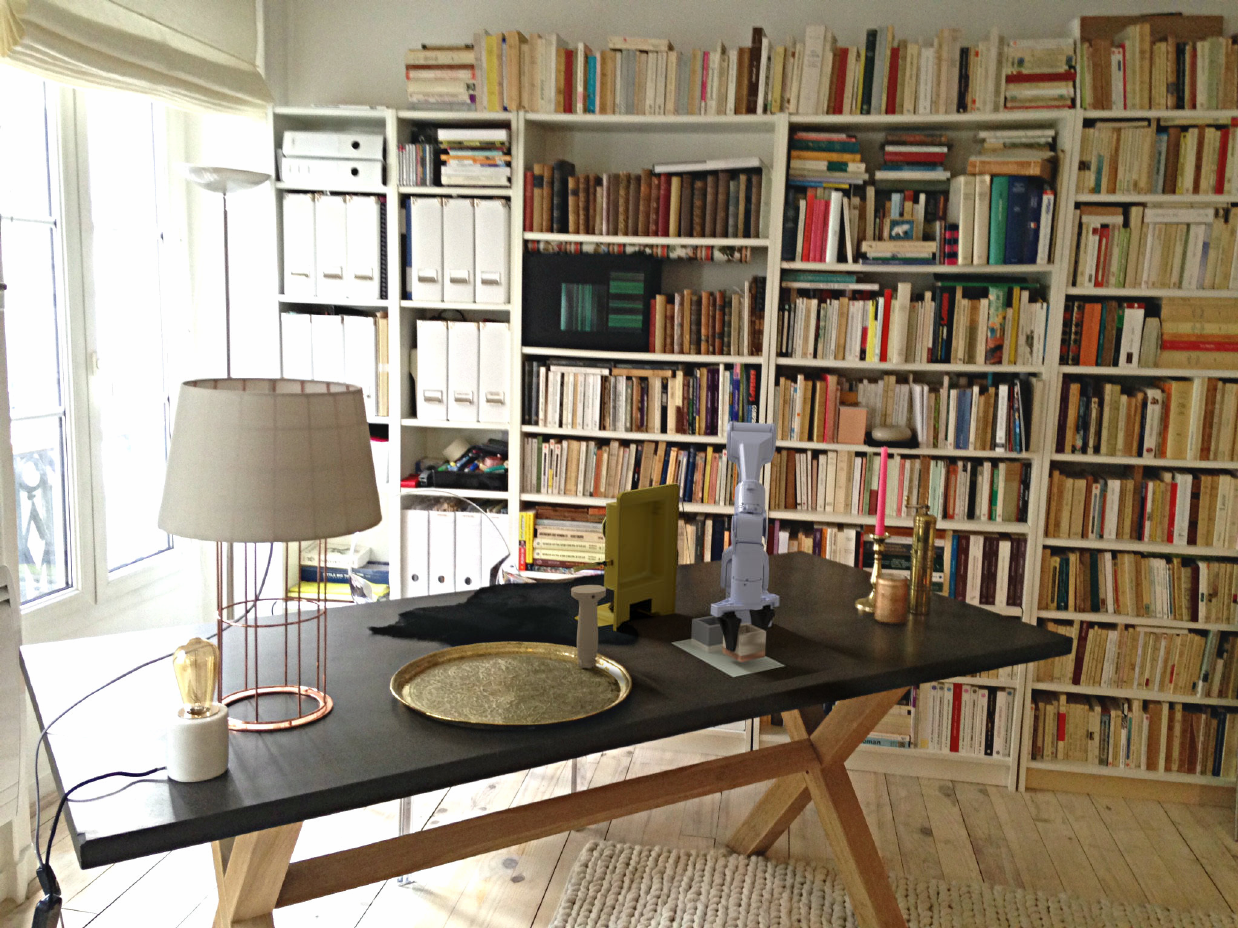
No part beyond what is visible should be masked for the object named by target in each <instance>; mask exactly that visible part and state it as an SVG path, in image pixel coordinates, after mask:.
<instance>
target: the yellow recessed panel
mask: <svg viewBox="0 0 1238 928" xmlns="http://www.w3.org/2000/svg"><path fill="white" fill-rule="evenodd" d="M680 489H681V486H680V485H679V483H676V482H672V483H667V484H661V485H660V484H659V485H656V486H649V487H643V488H637V489H631V490H626V491H621V492H620V491H619V492H618V494H617V495H616V501H612V502H606V503H605V517H604V519H603V521H602V523H601V533H602V536H603V538H604V539H605V540H604V560H597V561H595V562H591V563H589V564H585V565H577V566H572V571H573V574H576V573H578V572H581V571H584V570H588V569H594V568H598V567H599V568H600V567H601V566H603V567H604V570H603V571H604V575H603V576H604V577H603V578H604V579H603V581H604V582H603V587H605V588H606V589H607V590H608V589H609V590H611V591H613V594H614V595H613V600H612V601H611V602H608V603H605V604H601V605H597V619H598V627H603V626H609V625H612V629H613V631H614V632H617V628H618V627H620V626H621V624H622V623H623V622H627V621H629V620H630V611H636V610H638V611H637V612H640V613H642V614H646V615H649V616H651V617H655V618H656V617H657V618H658V617H663V616H667V615H668V616H669V615H674V614H676V598H677V597H676V596H677V574H678V573H677V572H678V567H679V556H680V555H679V553H680V552H679V548H678V545H679V522H680V521H679V519H680V518H679V516H680V501H681V506H682V513H683V515H682V516H683V523H684V527H685V534H686V535H685V537H686V542H687V549H688V552H690V547H689V539H688V531H687V522H686V515H685V508H684V507H685V506H684V501H683V499H682V497H681V496H680V491H681V490H680ZM688 558H689V559H691V555H690V553H688ZM689 564H690V566H692V561H689ZM690 571H691V574H689V575H688V576H686V579H688V578H689V577H690V576H691V575H692V573H693V569H692V568H690ZM683 582H684V580H682V581H681V582H680V583H679V584H678V586H679V585H681V584H682V583H683ZM634 609H636V610H634ZM578 618H579V614H578V615H577V616H575V617H574V619H575V620H576V621H577V622H578Z"/></svg>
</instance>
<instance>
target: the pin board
mask: <svg viewBox="0 0 1238 928" xmlns="http://www.w3.org/2000/svg"><path fill="white" fill-rule="evenodd" d="M671 644H673V645H674V646H675V647H678V648H679V649H681V650H683V651H685V652H687V653H689V654H691V655H692V656H694V657H696V658H698V659H699V660H701V661H704V662H705V663H707V664H709V665H711V666H712V667H714V668H716V669H718V670H720V672H723V673H725V674H727V675H729V676H730V677H732V678H736V677H740V676H745V675H750V674H755V673H758V672H764V671H769V670H772V669H776V668H777V669H778V668H782V667H786V665H785V664H782V663H780V662H778V661H777V660H775V659H772V658H770V657H768V656H766V655H765V657H763V658H758V659H754V660H749V661H744V662H740V661H738V660H736V659H734V658H732V657H730V656H728V655H726V654H724V653H722V652H723V650H719V651H714V652H709V653H708V652H706V651H704V650H702V649H700V648H698V647H697V646H695V645H693V644H691V638H690V639H689V638H688V639H684V640H679V641H678V640H677V641H674V642H671Z"/></svg>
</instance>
